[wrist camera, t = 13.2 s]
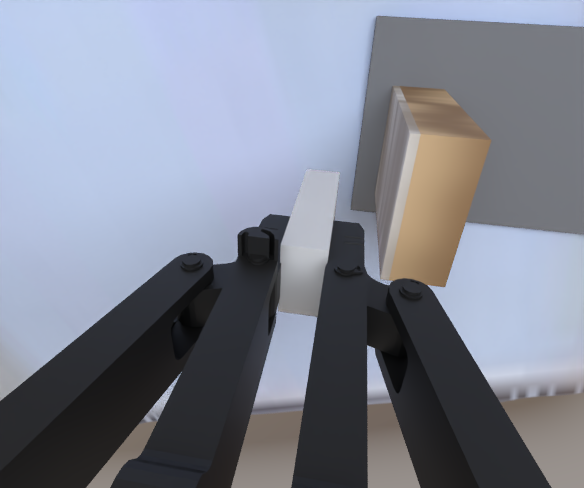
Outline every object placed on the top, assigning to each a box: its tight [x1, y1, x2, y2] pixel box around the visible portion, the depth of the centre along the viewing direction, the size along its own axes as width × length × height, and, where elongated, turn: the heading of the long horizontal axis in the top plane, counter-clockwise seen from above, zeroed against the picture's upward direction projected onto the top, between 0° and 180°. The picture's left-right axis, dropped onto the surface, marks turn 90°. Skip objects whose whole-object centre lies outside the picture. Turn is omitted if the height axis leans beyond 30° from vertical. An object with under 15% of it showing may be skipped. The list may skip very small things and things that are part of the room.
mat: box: [351, 16, 584, 234], centre depth 24 cm, size 18×12×1 cm, turn 88°
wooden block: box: [375, 86, 491, 287], centre depth 21 cm, size 3×7×10 cm, turn 178°
